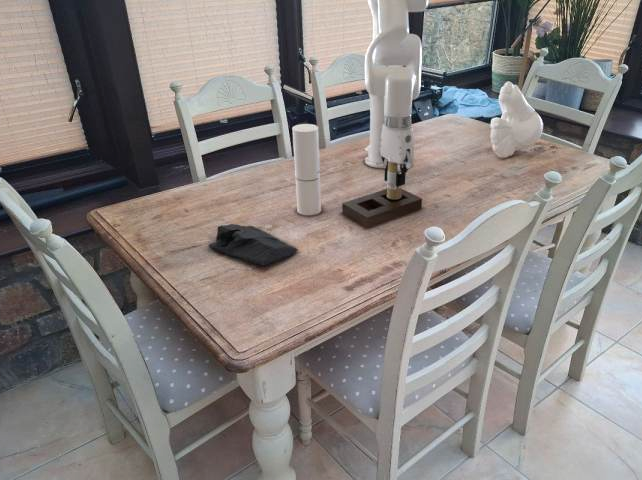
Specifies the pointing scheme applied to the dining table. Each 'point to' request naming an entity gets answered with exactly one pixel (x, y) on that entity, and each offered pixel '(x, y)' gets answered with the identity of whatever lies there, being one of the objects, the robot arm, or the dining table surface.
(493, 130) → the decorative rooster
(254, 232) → the folded black cloth
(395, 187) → the sprinkles bottle
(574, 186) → the dining table surface
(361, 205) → the peg block
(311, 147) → the cylindrical container
